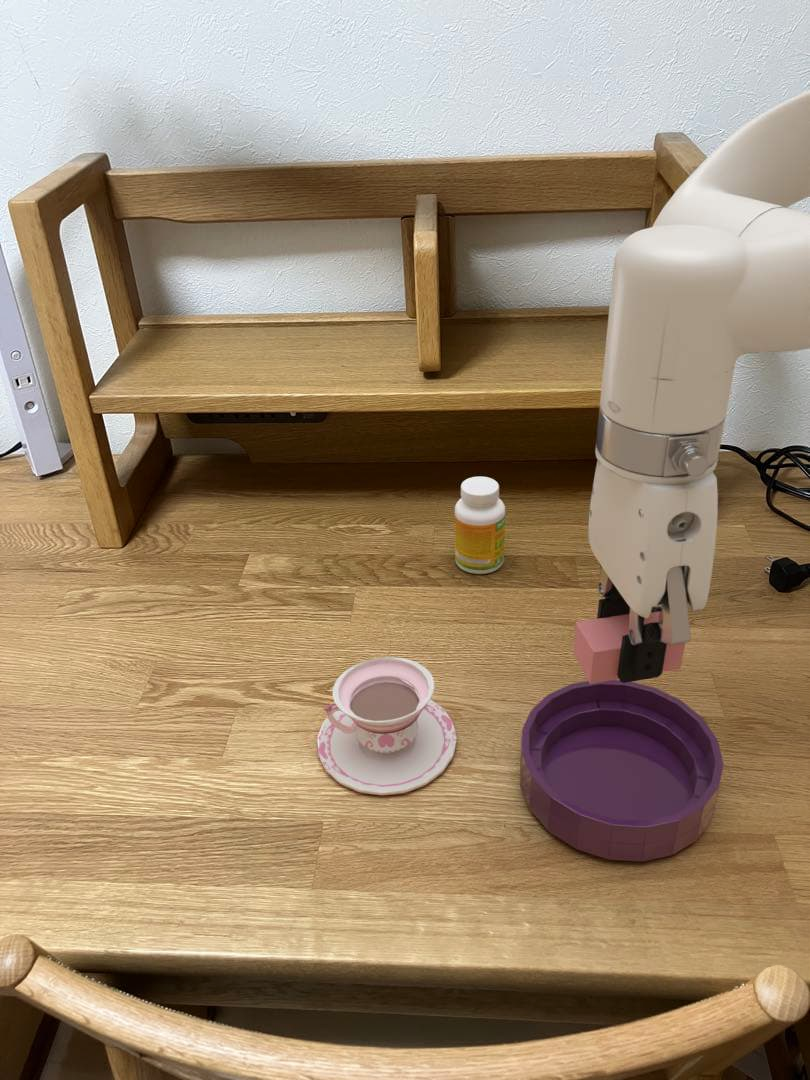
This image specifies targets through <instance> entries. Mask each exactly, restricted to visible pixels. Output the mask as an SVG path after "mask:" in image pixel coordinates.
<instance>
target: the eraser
mask: <svg viewBox="0 0 810 1080" xmlns="http://www.w3.org/2000/svg"><path fill="white" fill-rule="evenodd" d="M659 612H660V611H659ZM659 612H652V614H651V615H650V617H649V618H644V625H645V624H648V623H653V622H659ZM627 634H629V614H626V615H620V616H613V617H607V618H599V619H597V618H594V619H593V618H592V619H588V620H587V619H586V620H582V621H581V620H580V621H576V622H575V630H574V638H573V639H574V640H573V649H572V654H573V656H574V657H575V659H576V661H577V663H578V665H579V666H580V668H581V670H582V672H583V674H584V676H585V677H586V679H587V681H589V683H590V684H593V683H599V682H605V681H611V680H619V678H618V676H617V674H618V666H619V659H620V651H621V644H622V636H625V635H627ZM685 647H686V643H682V644H676V645H668V644H667V647H666V653H665V659H664V665H663V671H662V673H663V672H670V671H675V670H681V668H682V662H683V657H684V652H685Z"/></svg>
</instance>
